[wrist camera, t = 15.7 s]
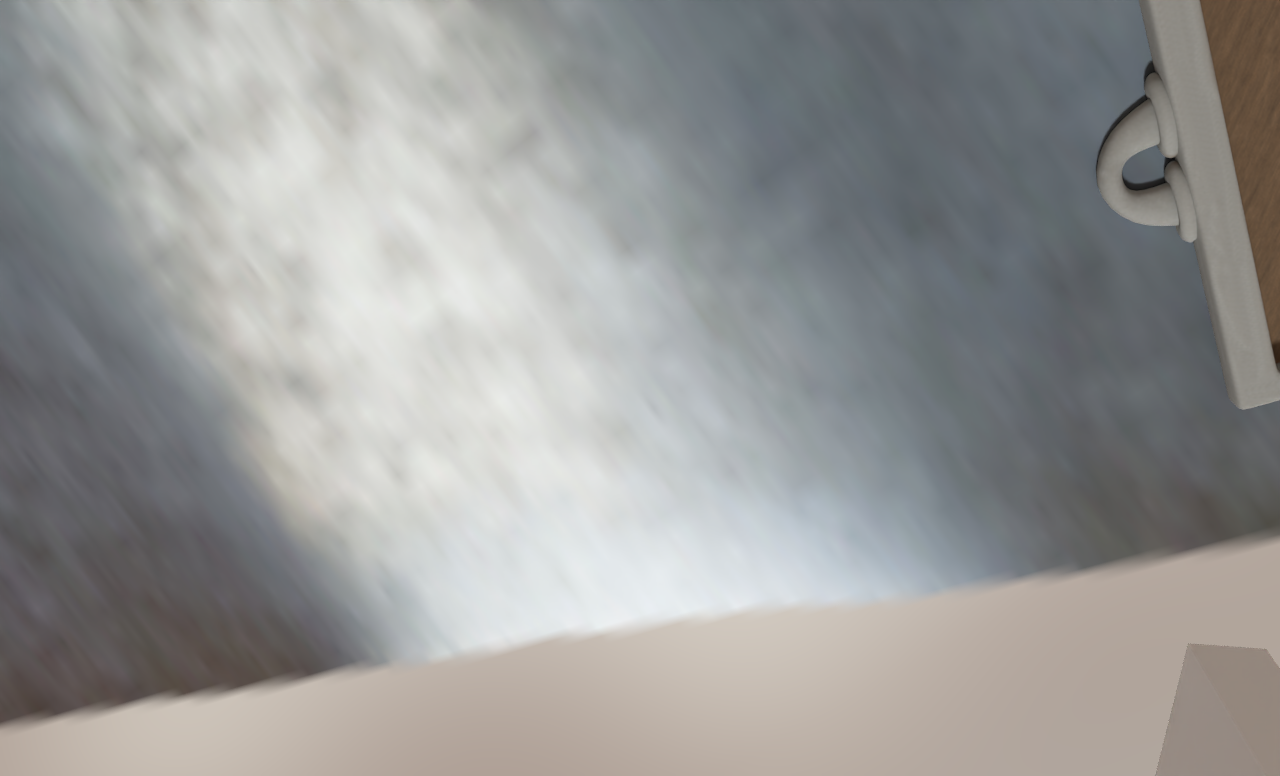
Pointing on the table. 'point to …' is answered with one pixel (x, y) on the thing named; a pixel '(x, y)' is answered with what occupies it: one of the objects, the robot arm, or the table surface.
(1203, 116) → the grey rectangular frame
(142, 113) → the table surface
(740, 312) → the table surface
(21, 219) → the table surface
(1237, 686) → the robot arm
